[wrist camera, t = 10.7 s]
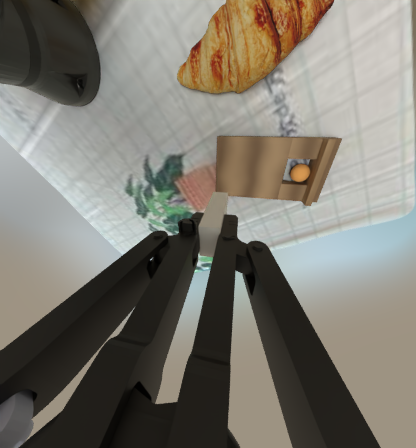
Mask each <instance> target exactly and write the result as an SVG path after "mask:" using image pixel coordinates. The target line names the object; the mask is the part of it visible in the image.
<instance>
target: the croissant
mask: <svg viewBox="0 0 416 448" xmlns="http://www.w3.org/2000/svg"><path fill="white" fill-rule="evenodd" d="M333 2H334V0H226V4H225V5H222V6H221V7H220V8H219V10H218V11H217V12H216V13H215V14H214V15H213V16H212V18H211V20H210V22H209V25H208V29H207V31H206V34H205V35H204V36H203V38H202V39H201V40H200V41H199V42H198V43H197V44H196V45H195V46H194V47H193V48H192V49H191V51H190V55H189V57H188V59H187V61H186V62H185V63H184V64H183V65H181V66H180V69H179V71H178V74H177V79H178V81H179V82H180V83H181V84H182V85H183V86H186V87H187V88H190V89H197V90H200V91H203V92H204V91H206V92H209V93H216V94H218V93H222V92H230V91H236V93H241V92H243V91H244V90H246V89H248V88H249V87H251V86H252V85H254V84H255V83H256V82H258V81H259V80H261V79H263V78H264V77H265V76H267V75H268V74H269V73H270V72H271V71H272V70H273V69H274V68H275V67H276V66H277V65H278V64H279V63H280V62H281V61H282V60H283V59H284V58H285V57H286V56H287V55H288V54H289V53H290V52H291V51H292V50H293V49H294V47H295V46H296V45H297V44H298V42H299V41H302V40H303V39H305V38H306V37H307V36H308V35H310V34H311V33H312V31H313V30H314V28H315V27H316V25H317V24H318V22H319V21H320V19H321V18H322V17H323V16H324V14H325V13H326V12H327V11H328V10H329V9H330V8H331V6H332V5H333Z"/></svg>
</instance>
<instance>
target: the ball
mask: <svg viewBox="0 0 416 448" xmlns="http://www.w3.org/2000/svg"><path fill="white" fill-rule="evenodd" d="M309 175H310V169H309V167H308V166H307V165H305V164H298V165H296V166H294V167H293V168H292V170H291V173H290V176H291V178H292V180H294V181H296V182H301V181H304V180H306V179H307V178H308V176H309Z"/></svg>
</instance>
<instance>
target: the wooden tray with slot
mask: <svg viewBox="0 0 416 448" xmlns="http://www.w3.org/2000/svg"><path fill="white" fill-rule="evenodd" d="M341 140H342V139H341V138H333V137H261V136H218V137H217V164H216V192H224V193H228V196H238V197H252V198H265V199H279V200H293V201H302V202H303V203H304V205H305V206H311V204H312V202H317V200H318V198H319V195H320V193H321V190H322V188H323V185H324V183H325V180H326V178H327V175H328V173H329V170H330V168H331V165H332V163H333V160H334V158H335V155H336V153H337V150H338V148H339V145H340V143H341ZM288 158H289V159H310V162H309V165H308V167H309V169H310V175H309V176H308V178H307V179H306V180H304V181H301V182H296V181H286V180H283V176H284V172H285V168H286V164H287V160H288Z"/></svg>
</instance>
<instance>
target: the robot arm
mask: <svg viewBox="0 0 416 448" xmlns="http://www.w3.org/2000/svg"><path fill="white" fill-rule="evenodd" d="M99 81H100V65H99V58H98V53H97V49H96V46H95V43H94V40H93V37H92V35H91V32H90V30H89V28H88V26H87V24H86V22H85V20H84V19H83V17H82V15H81V14H80V12H79V11H78V10H77V8H76V7H75V6H74V4H73V3H72V2H71V1H70V0H0V83H2V84H9V85H15V86H21V87H25V88H27V89H29V90H31V91H34V92H36V93H38V94H40V95H42V96H44V97H46V98H48V99H51V100H53V101H55V102H57V103H60V104H64V105H70V106H83V105H86V104H88V103H89V102H91V101H92V99H93V98H94V97H95V95H96V93H97V90H98V87H99ZM227 200H228V193H224V192H213V194H212V196H211V199H210V201H209V203H208V205H207V208H206V210H205V212H204V213H200V212H196V213H195V214H193V215H192V217H191V219H190V218H188V219H182V220H180V221H179V222H178V227H179V233H178V235H172V236H168V234H167V233H166V232H165V231H155V232H153V233H151V234H150V235H148V236H147V237H146V238H144V239H143V240H142V241H141V242H139V243H138V244H137V245H135V246H134V247H133V248H132V249H130V250H129V251H128V252H127V253H125V254H124V255H123V256H121V257H120V258H119V259H118V260H116V261H115V262H114V263H112V264H111V265H110V266H109V267H107V268H106V269H105V270H103V271H102V272H101V273H100V274H98V275H97V276H96V277H95V278H93V279H92V280H91V281H89V282H88V283H87V284H86V285H84V286H83V287H82V288H80V289H79V290H78V291H77V292H75V293H74V294H73V295H71V296H70V297H69V298H68V299H66V300H65V301H64V302H63V303H61V304H60V305H59V306H57V307H56V308H55V309H54V310H52V311H51V312H50V313H49V314H47V315H46V316H45V317H43V318H42V319H41V320H40V321H38V322H37V323H36V324H34V325H33V326H32V327H31V328H29V329H28V330H27V331H25V332H24V333H23V334H22V335H20V336H19V337H18V338H17V339H15V340H14V341H13V342H11V343H10V344H9V345H7V346H6V347H5V348H4V349H2V350H0V448H240V446H239V444H238V442H237V441H236V439H235V437H234V436H233V434H232V433H231V432H230V430H229V429H228V410H229V391H230V354H231V337H232V320H233V302H234V285H235V270H236V271H238V272H241V273H243V279H244V282H245V285H246V289H247V292H248V296H249V299H250V303H251V306H252V310H253V313H254V316H255V320H256V323H257V326H258V330H259V334H260V337H261V341H262V344H263V347H264V351H265V354H266V358H267V361H268V365H269V368H270V371H271V375H272V379H273V382H274V385H275V389H276V392H277V396H278V399H279V403H280V406H281V410H282V413H283V416H284V420H285V423H286V427H287V430H288V433H289V437H290V440H291V443H292V447H293V448H381V447H380V446H379V444H378V442H377V440H376V439H375V437H374V435H373V433H372V431H371V430H370V428H369V426H368V424H367V423H366V421H365V419H364V417H363V415H362V414H361V412H360V410H359V408H358V407H357V405H356V403H355V401H354V399H353V398H352V396H351V394H350V392H349V390H348V389H347V387H346V385H345V383H344V381H343V380H342V378H341V376H340V375H339V373H338V371H337V369H336V367H335V365H334V364H333V362H332V360H331V358H330V357H329V355H328V353H327V351H326V349H325V348H324V346H323V344H322V342H321V340H320V339H319V337H318V335H317V333H316V332H315V330H314V328H313V326H312V324H311V323H310V321H309V319H308V317H307V316H306V314H305V312H304V310H303V308H302V307H301V305H300V303H299V301H298V300H297V298H296V296H295V294H294V292H293V291H292V289H291V287H290V285H289V283H288V282H287V280H286V278H285V276H284V275H283V273H282V271H281V269H280V267H279V266H278V264H277V262H276V260H275V259H274V257H273V255H272V253H271V251H270V250H269V248H268V246H267V245H266V244H264V243H263V242H260V241H251V242H249V243H248V244H246V243H244V242H242V241H240V240H239V239H238V237H237V227H238V218H237V216H236V215H227ZM199 252H200V256H207V257H213V261H212V265H211V270H210V274H209V279H208V283H207V288H206V292H205V297H204V301H203V305H202V309H201V314H200V318H199V323H198V327H197V331H196V336H195V340H194V345H193V349H192V352H191V354H190V356H189V358H188V361H187V364H186V368H185V372H184V376H183V380H182V384H181V389H180V393H179V397H178V402H173V403H164V404H155V402H156V399H157V396H158V392H159V389H160V385H161V381H162V372H163V367H164V364H165V360H166V358H167V354H168V351H169V348H170V345H171V342H172V339H173V336H174V333H175V330H176V327H177V324H178V321H179V317H180V314H181V311H182V308H183V305H184V302H185V299H186V296H187V293H188V290H189V287H190V284H191V281H192V277H193V274H194V271H195V268H196V265H197V262H198V254H199ZM151 258H153V259H152V260H150V259H151ZM135 306H136V307H135ZM134 307H135V309H134V310H133V308H134ZM132 310H133V312H132V314H131V315H130V317H129V319H128V320H127V322H126V324H125V326H124V328H123V329H122V331H121V332H120V333H119V335H117V336H116V337H114V338H111V339H109V340H108V341H107V342H106V343H105V344H104V342H105V341H106V340H107V339H108V338H109V336H110V335H111V334H112V333H113V332H114V331H115V329H116V328H117V327H118V326H119V325H120V323H122V321H123V320H124V319H125V318H126V317H127V316H128V314H129V313H130V312H131V311H132ZM103 344H104V346H103V347H102V348H101V350H100V351H99V353H98V355H97V356H96V358H95V359H94V361H93V363H92V364H91V366H90V367H89V369H88V371H87V372H86V374H85V375H84V377H83V379H82V380H81V382H80V384H79V385H78V386H77V388H76V390H75V392H74V393H73V395H72V396H71V398H70V399H69V401H68V403H67V404H66V406H65V407H64V409H63V411H61V412H60V413H59V414H58V415H57V416H56V417H54V418H53V419H52V420H51V421H49V422H48V423H47V424H46V425H45V426H44V427H42V428H41V429H40V430H39V431H38V432H36V433H35V434H34V435H33V436H32V437H30V438H29V439H28V440H27V441H26V439H27V438H28V437H29V435H30V433H31V431H32V429H33V424H34V423H33V421H32V420H31V419H32V418H33V417H35V416H36V415H37V414H38V413H39V412H40V411H41V410H43V408H45V407H46V406H47V405H48V404H49V403H50V402H51V401H52V400H53V399H54V398H55V397H56V396H57V395H58V394H59V393H60V392H61V391H62V390H63V389H64V388H65V387H66V386H67V385H68V384H69V383H70V382H71V381H72V379H73V378H74V377H75V376H76V375H77V374H78V373H79V371H80V370H81V369H82V368H83V367H84V365H86V363H87V362H88V361H89V360H90V359H91V357H92V356H93V355H94V354H95V353H96V352H97V350H98V349H99V348H100V347H101V346H102V345H103ZM25 441H26V442H25ZM20 445H21V446H20ZM19 446H20V447H19Z"/></svg>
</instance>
